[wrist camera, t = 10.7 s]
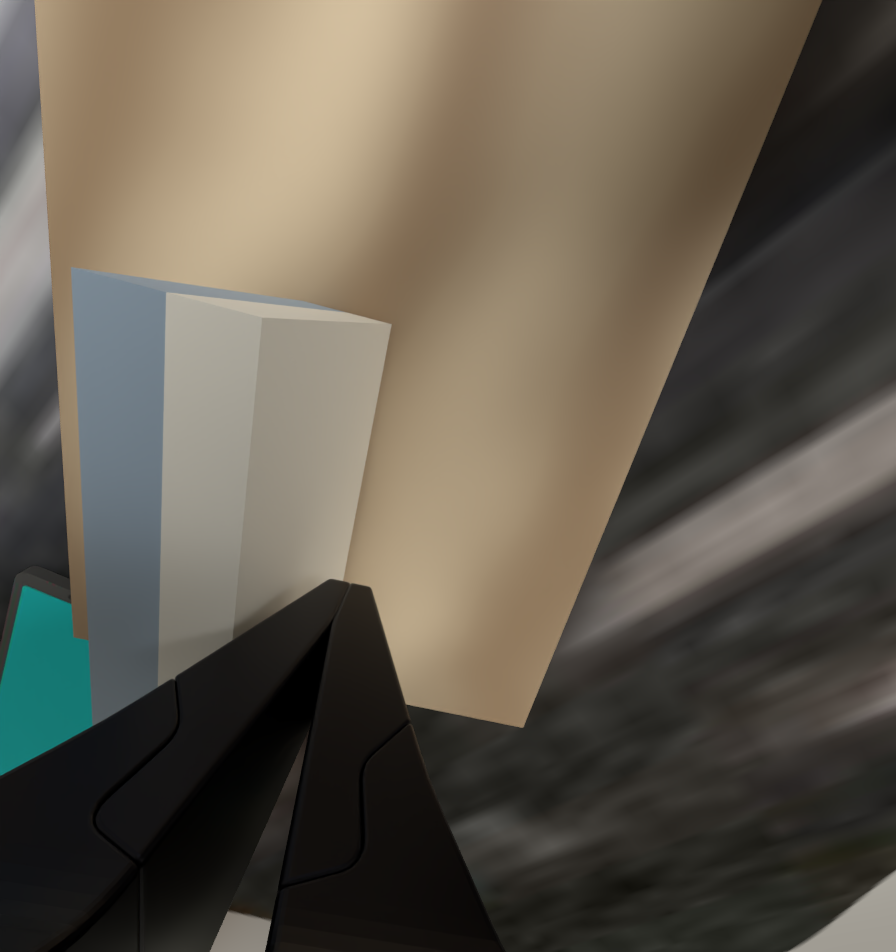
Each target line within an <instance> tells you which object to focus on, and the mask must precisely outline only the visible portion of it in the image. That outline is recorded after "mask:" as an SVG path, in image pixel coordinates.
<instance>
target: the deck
mask: <svg viewBox="0 0 896 952" xmlns="http://www.w3.org/2000/svg"><path fill="white" fill-rule="evenodd" d="M71 279H72V300H73V321H74V342H75V364H76V385H77V406H78V427H79V448H80V469H81V491H82V512H83V533H84V554H85V575H86V597H87V618H88V639H89V660H90V681H91V702H92V724H93V725H95V724H97V723H99V722H101V721H102V720H104V719H106V718H108V717H109V716H111V715H113V714H114V713H116V712H118V711H119V710H121V709H123V708H124V707H126V706H128V705H129V704H131V703H133V702H134V701H136V700H138V699H139V698H141V697H143V696H144V695H146V694H148V693H149V692H151V691H152V690H154V689H155V688H157V687H159V686H160V685H162V684H163V683H165V682H167V681H168V680H170V679H174V680H175V677H176V676H177V675H178V674H180V673H181V672H183V671H184V670H186V669H187V668H189V667H191V666H192V665H194V664H195V663H197V662H198V661H200V660H202V659H203V658H205V657H206V656H208V655H210V654H211V653H213V652H214V651H216V650H217V649H219V648H221V647H222V646H224V645H225V644H227V643H228V642H230V641H232V640H233V639H235V638H236V637H238V636H240V635H241V634H243V633H244V632H246V631H247V630H249V629H251V628H252V627H254V626H255V625H257V624H258V623H260V622H262V621H263V620H265V619H266V618H268V617H270V616H271V615H273V614H274V613H276V612H277V611H279V610H281V609H282V608H284V607H285V606H287V605H289V604H290V603H292V602H293V601H295V600H296V599H298V598H300V597H301V596H303V595H304V594H306V593H307V592H309V591H311V590H312V589H314V588H315V587H317V586H319V585H320V584H322V583H323V582H325V581H326V580H328V579H336V580H341V581H343V578H344V573H345V568H346V563H347V557H348V552H349V547H350V542H351V536H352V531H353V526H354V520H355V515H356V510H357V505H358V499H359V494H360V489H361V484H362V478H363V473H364V468H365V462H366V457H367V452H368V447H369V441H370V436H371V431H372V426H373V420H374V415H375V410H376V404H377V399H378V394H379V389H380V383H381V378H382V373H383V368H384V362H385V357H386V352H387V346H388V341H389V336H390V331H391V325H392V324H389V323H385V322H381V321H377V320H374V319H370V318H366V317H362V316H358V315H355V314H351V313H347V312H343V311H339V310H335V309H332V308H328V307H324V306H320V305H316V304H313V303H309V302H305V301H300V300H293V299H286V298H279V297H272V296H265V295H258V294H252V293H245V292H238V291H231V290H224V289H217V288H211V287H204V286H197V285H190V284H183V283H176V282H170V281H163V280H156V279H149V278H142V277H135V276H129V275H122V274H115V273H108V272H101V271H94V270H88V269H81V268H74V267H71Z"/></svg>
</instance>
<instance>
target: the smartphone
mask: <svg viewBox="0 0 896 952" xmlns="http://www.w3.org/2000/svg"><path fill="white" fill-rule="evenodd" d="M92 726H93V724H92V702H91V681H90V660H89V640H85V639H80V638H75V637H73V620H72V604H71V588H70V579H69V578H66V577H64V576H61V575H59V574H56V573H54V572H52V571H49V570H47V569H44V568H42V567H39V566H31V567H29V568H27V569H26V570H24V571H22V572H20V573H19V574H17V575H16V577H15V580H14V584H13V589H12V593H11V598H10V602H9V607H8V611H7V616H6V620H5V625H4V630H3V634H2V639H1V643H0V776H1V775H3V774H4V773H6V772H8V771H10V770H12V769H14V768H16V767H18V766H20V765H21V764H23V763H25V762H27V761H29V760H31V759H33V758H35V757H37V756H38V755H40V754H42V753H44V752H46V751H48V750H50V749H52V748H54V747H55V746H57V745H59V744H61V743H63V742H64V741H66V740H68V739H70V738H72V737H73V736H75V735H77V734H79V733H81V732H83V731H84V730H86V729H88V728H90V727H92Z"/></svg>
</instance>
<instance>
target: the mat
mask: <svg viewBox="0 0 896 952" xmlns="http://www.w3.org/2000/svg"><path fill="white" fill-rule="evenodd" d="M821 2H822V0H35V15H36V32H37V48H38V64H39V81H40V97H41V113H42V130H43V146H44V162H45V179H46V195H47V211H48V228H49V244H50V260H51V277H52V293H53V310H54V326H55V342H56V359H57V375H58V391H59V408H60V424H61V440H62V457H63V473H64V489H65V506H66V522H67V538H68V555H69V571H70V588H71V604H72V620H73V637H75V638H80V639H85V640H89V639H88V618H87V597H86V575H85V554H84V533H83V512H82V491H81V469H80V448H79V427H78V406H77V385H76V364H75V342H74V321H73V300H72V279H71V267H74V268H81V269H88V270H94V271H101V272H108V273H115V274H122V275H129V276H135V277H142V278H149V279H156V280H163V281H170V282H176V283H183V284H190V285H197V286H204V287H211V288H217V289H224V290H231V291H238V292H245V293H252V294H258V295H265V296H272V297H279V298H286V299H293V300H300V301H305V302H309V303H313V304H316V305H320V306H324V307H328V308H332V309H335V310H339V311H343V312H347V313H351V314H355V315H358V316H362V317H366V318H370V319H374V320H377V321H381V322H385V323H389V324H392V325H391V331H390V336H389V341H388V346H387V352H386V357H385V362H384V368H383V373H382V378H381V383H380V389H379V394H378V399H377V404H376V410H375V415H374V420H373V426H372V431H371V436H370V441H369V447H368V452H367V457H366V462H365V468H364V473H363V478H362V484H361V489H360V494H359V499H358V505H357V510H356V515H355V520H354V526H353V531H352V536H351V542H350V547H349V552H348V557H347V563H346V568H345V573H344V578H343V581H345V582H349V583H350V584H351V583H355V584H360V585H365V586H369V587H371V589H372V591H373V595H374V598H375V601H376V605H377V608H378V611H379V615H380V618H381V622H382V625H383V628H384V632H385V635H386V639H387V642H388V645H389V649H390V652H391V655H392V659H393V662H394V666H395V669H396V672H397V676H398V679H399V683H400V686H401V689H402V693H403V696H404V700H405V703H406V704H407V705H412V706H417V707H422V708H427V709H432V710H437V711H442V712H447V713H452V714H457V715H462V716H467V717H472V718H477V719H482V720H487V721H492V722H497V723H502V724H507V725H512V726H517V727H522V728H523V726H524V724H525V721H526V719H527V717H528V714H529V712H530V709H531V707H532V704H533V702H534V700H535V697H536V695H537V692H538V690H539V687H540V685H541V683H542V680H543V678H544V675H545V673H546V670H547V668H548V666H549V663H550V661H551V658H552V656H553V653H554V651H555V649H556V646H557V644H558V641H559V639H560V636H561V634H562V632H563V629H564V627H565V624H566V622H567V619H568V617H569V615H570V612H571V610H572V607H573V605H574V602H575V600H576V597H577V595H578V593H579V590H580V588H581V585H582V583H583V580H584V578H585V576H586V573H587V571H588V568H589V566H590V563H591V561H592V559H593V556H594V554H595V551H596V549H597V546H598V544H599V542H600V539H601V537H602V534H603V532H604V529H605V527H606V525H607V522H608V520H609V517H610V515H611V512H612V510H613V508H614V505H615V503H616V500H617V498H618V495H619V493H620V491H621V488H622V486H623V483H624V481H625V478H626V476H627V474H628V471H629V469H630V466H631V464H632V461H633V459H634V456H635V454H636V452H637V449H638V447H639V444H640V442H641V439H642V437H643V435H644V432H645V430H646V427H647V425H648V422H649V420H650V418H651V415H652V413H653V410H654V408H655V405H656V403H657V401H658V398H659V396H660V393H661V391H662V388H663V386H664V384H665V381H666V379H667V376H668V374H669V371H670V369H671V367H672V364H673V362H674V359H675V357H676V354H677V352H678V350H679V347H680V345H681V342H682V340H683V337H684V335H685V333H686V330H687V328H688V325H689V323H690V320H691V318H692V315H693V313H694V311H695V308H696V306H697V303H698V301H699V298H700V296H701V294H702V291H703V289H704V286H705V284H706V281H707V279H708V277H709V274H710V272H711V269H712V267H713V264H714V262H715V260H716V257H717V255H718V252H719V250H720V247H721V245H722V243H723V240H724V238H725V235H726V233H727V230H728V228H729V226H730V223H731V221H732V218H733V216H734V213H735V211H736V209H737V206H738V204H739V201H740V199H741V196H742V194H743V191H744V189H745V187H746V184H747V182H748V179H749V177H750V174H751V172H752V170H753V167H754V165H755V162H756V160H757V157H758V155H759V153H760V150H761V148H762V145H763V143H764V140H765V138H766V136H767V133H768V131H769V128H770V126H771V123H772V121H773V119H774V116H775V114H776V111H777V109H778V106H779V104H780V102H781V99H782V97H783V94H784V92H785V89H786V87H787V85H788V82H789V80H790V77H791V75H792V72H793V70H794V68H795V65H796V63H797V60H798V58H799V55H800V53H801V50H802V48H803V46H804V43H805V41H806V38H807V36H808V33H809V31H810V29H811V26H812V24H813V21H814V19H815V16H816V14H817V12H818V9H819V7H820V4H821Z"/></svg>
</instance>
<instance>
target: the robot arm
mask: <svg viewBox="0 0 896 952" xmlns="http://www.w3.org/2000/svg"><path fill="white" fill-rule="evenodd" d="M309 727H310V730H309V735H308V740H307V745H306V750H305V755H304V760H303V765H302V770H301V775H300V780H299V785H298V790H297V795H296V800H295V805H294V810H293V815H292V820H291V825H290V830H289V835H288V840H287V845H286V850H285V855H284V860H283V865H282V870H281V875H280V881H279V886H278V891H277V897H276V901H275V906H274V911H273V916H272V920H271V926H270V931H269V935H268V941H267V945H266V950H265V952H506V951H505V950H504V948H503V946H502V944H501V942H500V940H499V938H498V935H497V933H496V931H495V929H494V927H493V925H492V922H491V920H490V918H489V916H488V913H487V911H486V909H485V907H484V904H483V902H482V900H481V898H480V895H479V893H478V891H477V888H476V886H475V884H474V882H473V879H472V877H471V875H470V873H469V870H468V868H467V866H466V864H465V861H464V859H463V857H462V855H461V852H460V850H459V848H458V845H457V843H456V841H455V839H454V836H453V834H452V832H451V830H450V827H449V825H448V823H447V821H446V818H445V816H444V813H443V811H442V809H441V806H440V804H439V801H438V799H437V796H436V794H435V791H434V789H433V786H432V784H431V782H430V779H429V776H428V773H427V770H426V767H425V764H424V761H423V758H422V755H421V752H420V749H419V746H418V743H417V739H416V736H415V733H414V729H413V726H412V725H411V720H410V716H409V713H408V710H407V706H406V703H405V700H404V696H403V693H402V689H401V686H400V683H399V679H398V676H397V672H396V669H395V666H394V662H393V659H392V655H391V652H390V649H389V645H388V642H387V639H386V635H385V632H384V628H383V625H382V622H381V618H380V615H379V611H378V608H377V605H376V601H375V598H374V595H373V591H372V589H371V587H369V586H365V585H360V584H355V583H351V584H350V583H349V582H345V581H341V580H336V579H328V580H326V581H325V582H323V583H322V584H320V585H319V586H317V587H315V588H314V589H312V590H311V591H309V592H307V593H306V594H304V595H303V596H301V597H300V598H298V599H296V600H295V601H293V602H292V603H290V604H289V605H287V606H285V607H284V608H282V609H281V610H279V611H277V612H276V613H274V614H273V615H271V616H270V617H268V618H266V619H265V620H263V621H262V622H260V623H258V624H257V625H255V626H254V627H252V628H251V629H249V630H247V631H246V632H244V633H243V634H241V635H240V636H238V637H236V638H235V639H233V640H232V641H230V642H228V643H227V644H225V645H224V646H222V647H221V648H219V649H217V650H216V651H214V652H213V653H211V654H210V655H208V656H206V657H205V658H203V659H202V660H200V661H198V662H197V663H195V664H194V665H192V666H191V667H189V668H187V669H186V670H184V671H183V672H181V673H180V674H178V675H177V676H176V677H175V680H174V679H170V680H168V681H167V682H165V683H163V684H162V685H160V686H159V687H157V688H155V689H154V690H152V691H151V692H149V693H148V694H146V695H144V696H143V697H141V698H139V699H138V700H136V701H134V702H133V703H131V704H129V705H128V706H126V707H124V708H123V709H121V710H119V711H118V712H116V713H114V714H113V715H111V716H109V717H108V718H106V719H104V720H102V721H101V722H99V723H97V724H95V725H93V726H92V727H90V728H88V729H86V730H84V731H83V732H81V733H79V734H77V735H75V736H73V737H72V738H70V739H68V740H66V741H64V742H63V743H61V744H59V745H57V746H55V747H54V748H52V749H50V750H48V751H46V752H44V753H42V754H40V755H38V756H37V757H35V758H33V759H31V760H29V761H27V762H25V763H23V764H21V765H20V766H18V767H16V768H14V769H12V770H10V771H8V772H6V773H4V774H3V775H1V776H0V952H210V950H211V947H212V945H213V943H214V940H215V938H216V936H217V934H218V932H219V929H220V927H221V925H222V923H223V920H224V918H225V916H226V914H227V911H228V909H229V907H230V905H231V902H232V900H233V898H234V896H235V893H236V891H237V889H238V887H239V884H240V882H241V880H242V878H243V875H244V873H245V871H246V869H247V866H248V864H249V862H250V860H251V857H252V855H253V853H254V851H255V848H256V846H257V844H258V842H259V839H260V837H261V835H262V833H263V831H264V828H265V826H266V824H267V822H268V819H269V817H270V815H271V813H272V810H273V808H274V806H275V804H276V801H277V799H278V797H279V795H280V792H281V790H282V788H283V786H284V783H285V781H286V779H287V777H288V774H289V772H290V770H291V768H292V765H293V763H294V761H295V759H296V756H297V754H298V752H299V750H300V747H301V745H302V743H303V741H304V738H305V736H306V734H307V732H308V729H309Z"/></svg>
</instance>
